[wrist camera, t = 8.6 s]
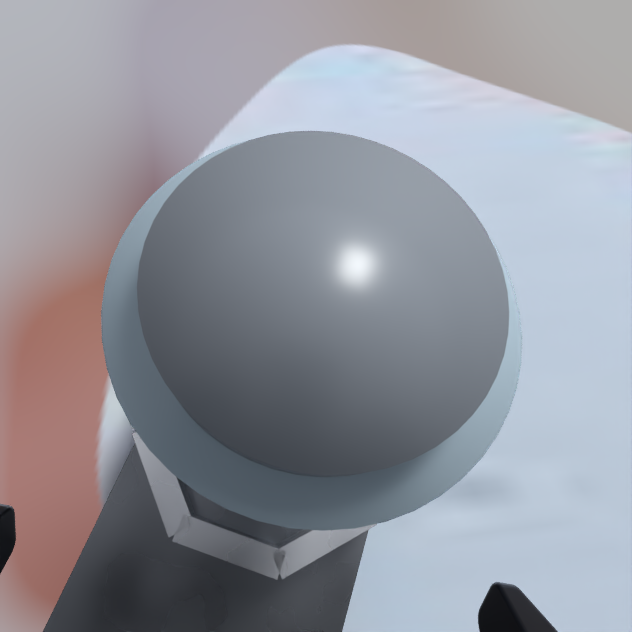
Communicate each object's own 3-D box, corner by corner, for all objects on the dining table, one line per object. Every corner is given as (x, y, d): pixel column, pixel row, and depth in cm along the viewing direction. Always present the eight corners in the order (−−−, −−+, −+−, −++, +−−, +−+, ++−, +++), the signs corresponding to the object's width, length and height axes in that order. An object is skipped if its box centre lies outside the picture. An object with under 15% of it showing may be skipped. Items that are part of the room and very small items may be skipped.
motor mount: (308, 713, 15) (332, 795, 11) (59, 622, 15) (-11, 669, 11) (419, 303, 21) (460, 257, 17) (243, 238, 21) (243, 176, 17)
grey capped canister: (339, 506, 16) (594, 535, 4) (195, 504, 16) (25, 535, 4) (338, 369, 18) (516, 123, 6) (209, 363, 17) (127, 76, 6)
